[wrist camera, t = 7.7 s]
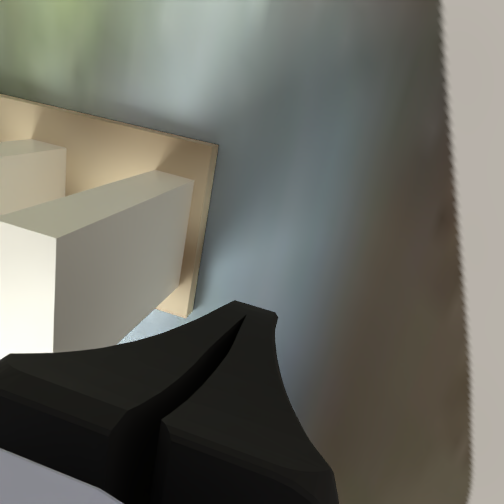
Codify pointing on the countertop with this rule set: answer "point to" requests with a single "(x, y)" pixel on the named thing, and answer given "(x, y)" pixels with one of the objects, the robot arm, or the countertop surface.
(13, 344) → the domino
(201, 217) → the oak strip
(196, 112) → the countertop surface
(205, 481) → the robot arm
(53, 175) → the domino
